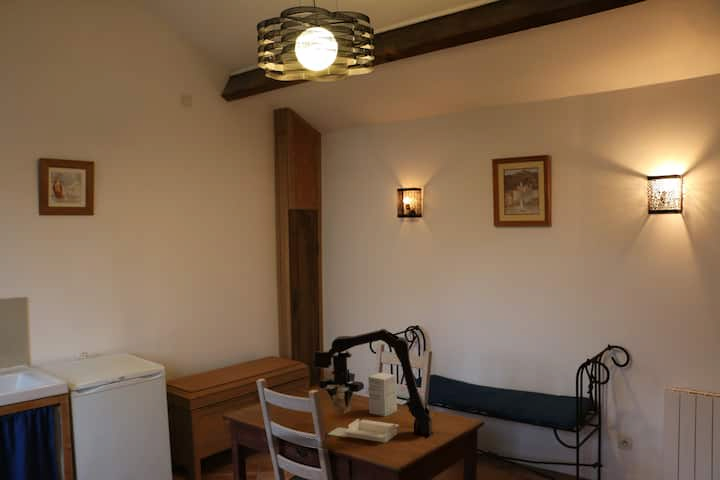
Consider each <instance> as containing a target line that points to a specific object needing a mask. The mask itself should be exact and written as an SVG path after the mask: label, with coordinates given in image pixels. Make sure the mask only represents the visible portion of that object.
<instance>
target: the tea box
mask: <svg viewBox="0 0 720 480" xmlns="http://www.w3.org/2000/svg"><path fill="white" fill-rule="evenodd" d="M332 406H333V407H332V409H333V410H332V411H333V413H336V414H337V413H338V414H342V415H343V414H344V415H345V414H347V413H348V412H350V411H351V401H350V402H349V405H348V407H346V403H345V394H344V392H343V391H342V392H341V391H340V392H339V391H337V393H336V394H334V395H333V400H332Z"/></svg>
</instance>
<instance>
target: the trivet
mask: <svg viewBox="0 0 720 480" xmlns="http://www.w3.org/2000/svg"><path fill="white" fill-rule="evenodd" d="M347 429H348V427H347V428H346V427H336V428H335V429H332V430H331V431H330V432H328V433H327V435H331V436H338V437H344V438H348V436H347V433H346V432H344V431H345V430H347Z"/></svg>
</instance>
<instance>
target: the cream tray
mask: <svg viewBox="0 0 720 480" xmlns="http://www.w3.org/2000/svg"><path fill="white" fill-rule="evenodd" d="M347 426H348V427H347V430H345V431H344V432H346V433H347V438H355V439H361V440H366V441H367V440H368V441H374V442H379V443H387V442H388V441H390V440H391V439H393V438H394V437H395V436H396V435H397V434H398V433H397V431H398V429H397V428H398V427H399V426H400V424H396V423H389V422H384V421H383V422H382V421H377V420H376V421H375V420H367V419H362V420H360V418H357V419H355V420H354V421H352V422H351V423H349V424H348V425H347Z"/></svg>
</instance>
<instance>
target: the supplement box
mask: <svg viewBox="0 0 720 480" xmlns="http://www.w3.org/2000/svg"><path fill="white" fill-rule="evenodd" d="M367 379H368V383H367V384H368V402H369V405H368V406H369V409H368V410H369V414H372V415H377V416H382V417H387V416H390V415H391V414H394V413H396V412H398V404H397V403H398V402H397V375H396V374H390V373H385V372H378V373H376V374H373V375H371V376H367Z"/></svg>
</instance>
